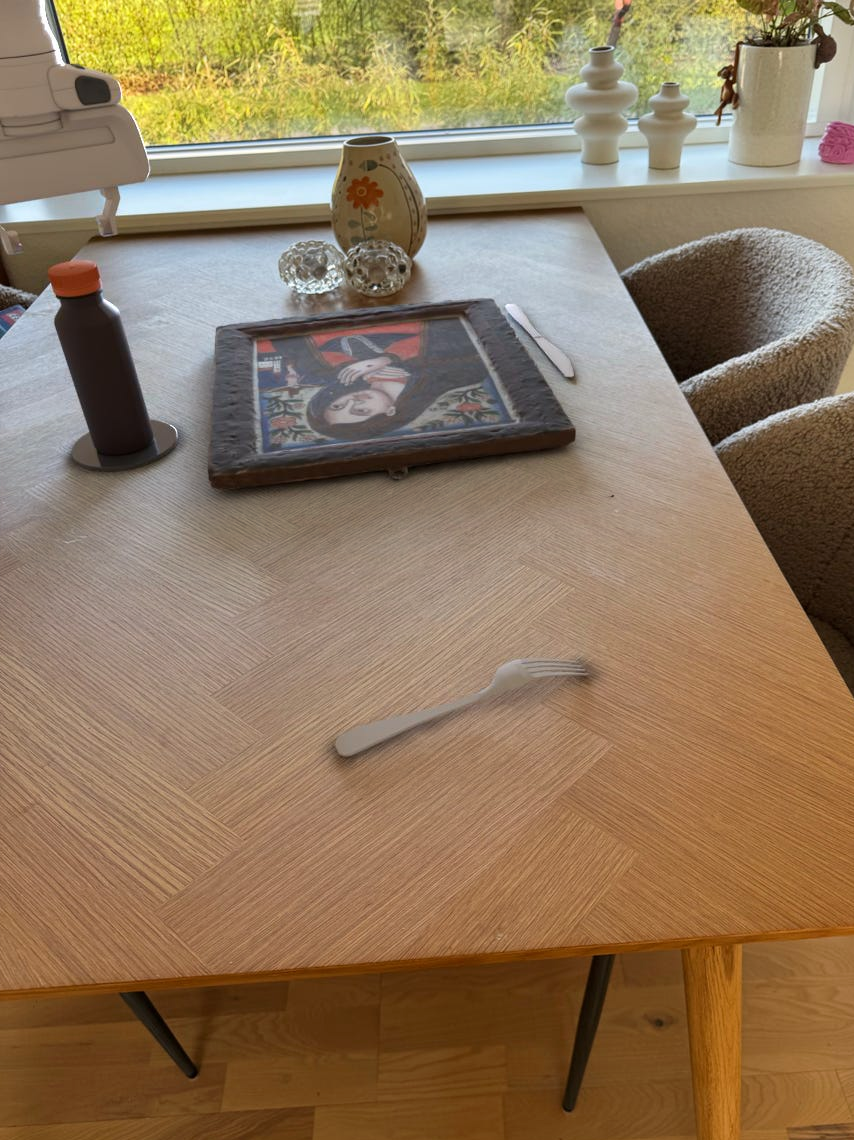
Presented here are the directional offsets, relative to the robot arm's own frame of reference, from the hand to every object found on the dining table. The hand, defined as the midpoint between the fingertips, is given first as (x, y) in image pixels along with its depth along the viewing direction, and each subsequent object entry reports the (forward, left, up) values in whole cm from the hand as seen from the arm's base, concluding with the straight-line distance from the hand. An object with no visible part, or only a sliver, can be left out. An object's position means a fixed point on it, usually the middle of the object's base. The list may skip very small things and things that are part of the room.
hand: (62, 243), depth 97 cm
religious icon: (+30, -6, -23) cm, 38 cm away
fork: (+8, -61, -23) cm, 66 cm away
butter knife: (+56, -5, -23) cm, 61 cm away
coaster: (0, 0, -23) cm, 23 cm away
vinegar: (0, 0, -23) cm, 23 cm away
